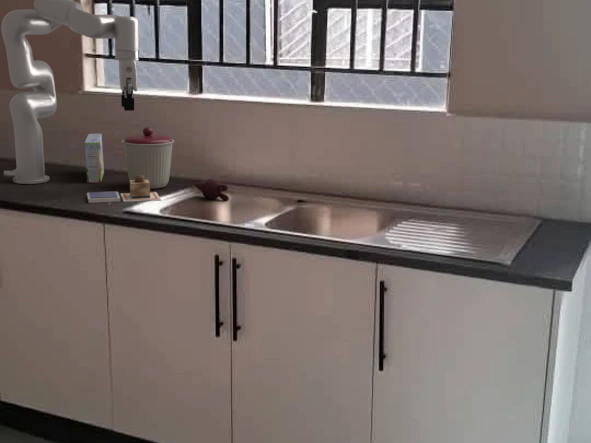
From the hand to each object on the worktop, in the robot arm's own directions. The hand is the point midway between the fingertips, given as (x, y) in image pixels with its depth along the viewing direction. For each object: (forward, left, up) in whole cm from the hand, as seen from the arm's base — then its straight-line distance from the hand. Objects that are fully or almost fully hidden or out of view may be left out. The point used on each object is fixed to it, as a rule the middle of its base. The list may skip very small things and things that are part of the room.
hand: (127, 108), depth 272 cm
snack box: (-10, +33, -29) cm, 45 cm away
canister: (+8, +12, -29) cm, 33 cm away
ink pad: (-9, -5, -29) cm, 31 cm away
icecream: (+25, -11, -29) cm, 40 cm away
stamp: (+3, -5, -29) cm, 29 cm away
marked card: (+3, -5, -29) cm, 29 cm away
